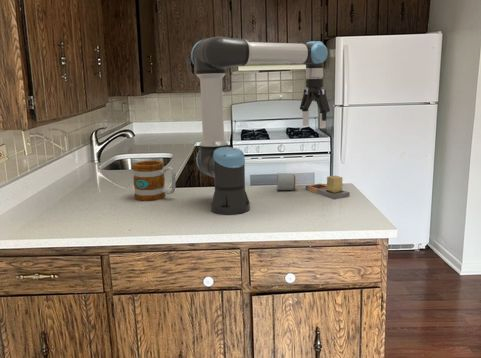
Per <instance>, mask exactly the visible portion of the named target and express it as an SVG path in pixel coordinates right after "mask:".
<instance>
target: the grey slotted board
mask: <svg viewBox="0 0 481 358" xmlns="http://www.w3.org/2000/svg"><path fill="white" fill-rule="evenodd" d="M305 190H306V191H308V190H309V192H311V193H315V194H318V195H320V196H323V197H327V198H329V197H330V198H329V199H333V200H337V199H342V198H343V199H344V198H348V197H349V198H350V196H351V195H350V193H351V192H349V191H346V190H343V189H342V192H340V193H335V194H333V193H330V192H327V184H323V183H316V184H308V185H305Z"/></svg>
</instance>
